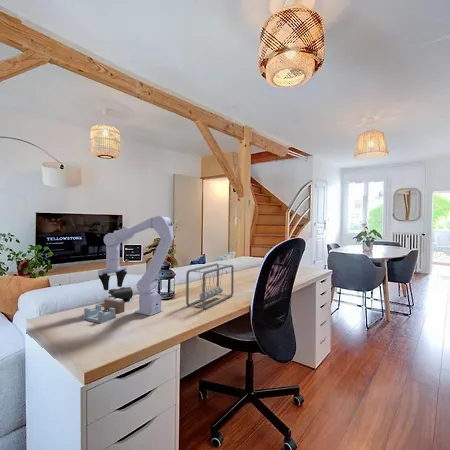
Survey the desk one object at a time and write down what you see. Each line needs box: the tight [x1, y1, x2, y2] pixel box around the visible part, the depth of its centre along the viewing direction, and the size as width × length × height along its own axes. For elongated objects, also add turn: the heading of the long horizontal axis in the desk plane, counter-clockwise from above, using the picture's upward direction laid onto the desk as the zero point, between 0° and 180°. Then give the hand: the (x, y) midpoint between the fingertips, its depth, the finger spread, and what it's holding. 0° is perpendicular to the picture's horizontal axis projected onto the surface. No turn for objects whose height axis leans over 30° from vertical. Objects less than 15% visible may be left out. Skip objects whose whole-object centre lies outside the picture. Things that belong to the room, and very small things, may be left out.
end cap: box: [108, 286, 134, 302], centre depth 143 cm, size 10×7×7 cm
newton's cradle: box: [185, 262, 234, 310], centre depth 144 cm, size 30×10×18 cm, turn 151°
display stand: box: [82, 304, 117, 324], centre depth 117 cm, size 11×8×4 cm
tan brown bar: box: [103, 296, 126, 314], centre depth 127 cm, size 10×3×6 cm, turn 62°
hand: (113, 288), depth 129 cm, fingers open, 7 cm apart
